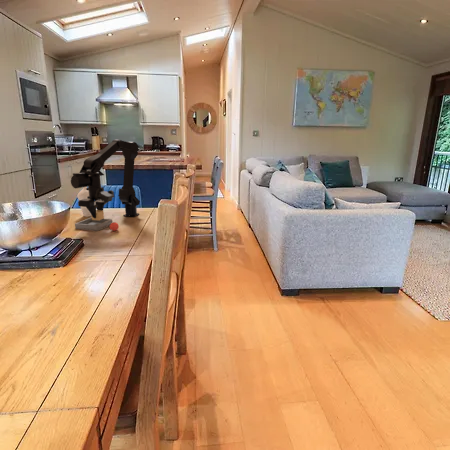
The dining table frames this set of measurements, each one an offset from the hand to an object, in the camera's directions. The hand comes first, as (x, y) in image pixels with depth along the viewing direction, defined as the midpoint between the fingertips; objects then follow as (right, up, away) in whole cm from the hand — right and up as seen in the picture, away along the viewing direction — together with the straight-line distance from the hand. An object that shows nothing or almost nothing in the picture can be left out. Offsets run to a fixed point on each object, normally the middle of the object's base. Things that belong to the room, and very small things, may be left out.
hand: (97, 217), depth 153 cm
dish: (-1, -5, -2) cm, 5 cm away
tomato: (+11, -7, -8) cm, 15 cm away
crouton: (0, -1, 0) cm, 1 cm away
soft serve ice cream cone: (-12, +1, +17) cm, 21 cm away
